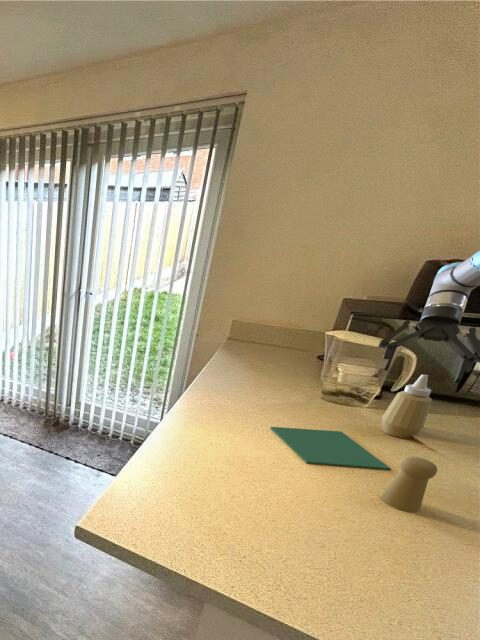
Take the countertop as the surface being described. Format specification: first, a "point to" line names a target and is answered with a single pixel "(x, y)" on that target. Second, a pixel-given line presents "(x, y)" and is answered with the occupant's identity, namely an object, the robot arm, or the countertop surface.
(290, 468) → the countertop surface
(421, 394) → the squeeze bottle
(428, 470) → the cork
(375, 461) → the mat
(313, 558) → the countertop surface
